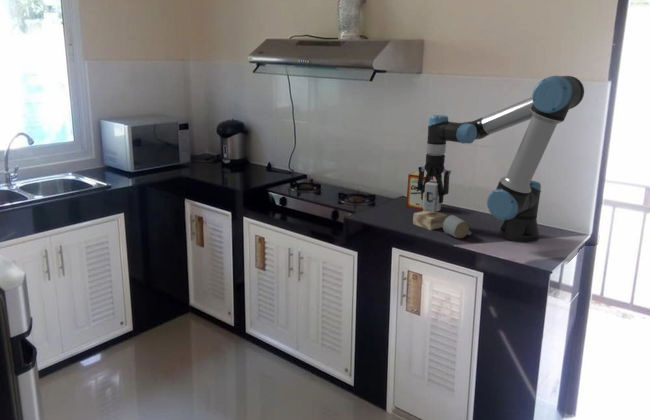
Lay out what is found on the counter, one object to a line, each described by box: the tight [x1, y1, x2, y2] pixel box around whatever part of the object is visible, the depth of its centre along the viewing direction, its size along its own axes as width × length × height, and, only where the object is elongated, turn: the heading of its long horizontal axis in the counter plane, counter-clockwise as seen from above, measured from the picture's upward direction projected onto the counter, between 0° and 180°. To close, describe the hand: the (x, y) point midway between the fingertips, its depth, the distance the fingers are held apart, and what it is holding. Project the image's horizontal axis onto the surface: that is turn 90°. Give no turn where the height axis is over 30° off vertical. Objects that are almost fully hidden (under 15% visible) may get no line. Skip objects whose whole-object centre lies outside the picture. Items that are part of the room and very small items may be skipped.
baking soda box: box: [406, 171, 435, 211], centre depth 257 cm, size 10×6×16 cm
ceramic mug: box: [442, 214, 472, 239], centre depth 218 cm, size 11×8×8 cm
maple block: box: [412, 210, 449, 231], centre depth 232 cm, size 10×10×5 cm
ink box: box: [422, 179, 439, 213], centre depth 229 cm, size 9×5×12 cm, turn 154°
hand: (431, 208), depth 230 cm, fingers closed on ink box, 6 cm apart
